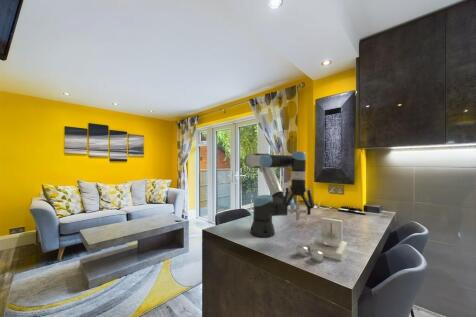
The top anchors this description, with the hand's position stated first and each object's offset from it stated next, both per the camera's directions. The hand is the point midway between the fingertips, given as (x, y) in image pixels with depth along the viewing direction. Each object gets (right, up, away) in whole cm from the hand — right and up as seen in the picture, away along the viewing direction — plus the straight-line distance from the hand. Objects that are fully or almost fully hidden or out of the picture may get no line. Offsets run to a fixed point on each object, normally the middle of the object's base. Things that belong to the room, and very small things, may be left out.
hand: (297, 218), depth 112 cm
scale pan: (+12, -8, -11) cm, 18 cm away
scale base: (+13, -13, -10) cm, 21 cm away
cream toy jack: (0, -1, 0) cm, 1 cm away
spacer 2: (+3, -12, -21) cm, 25 cm away
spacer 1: (-3, -13, -16) cm, 21 cm away
